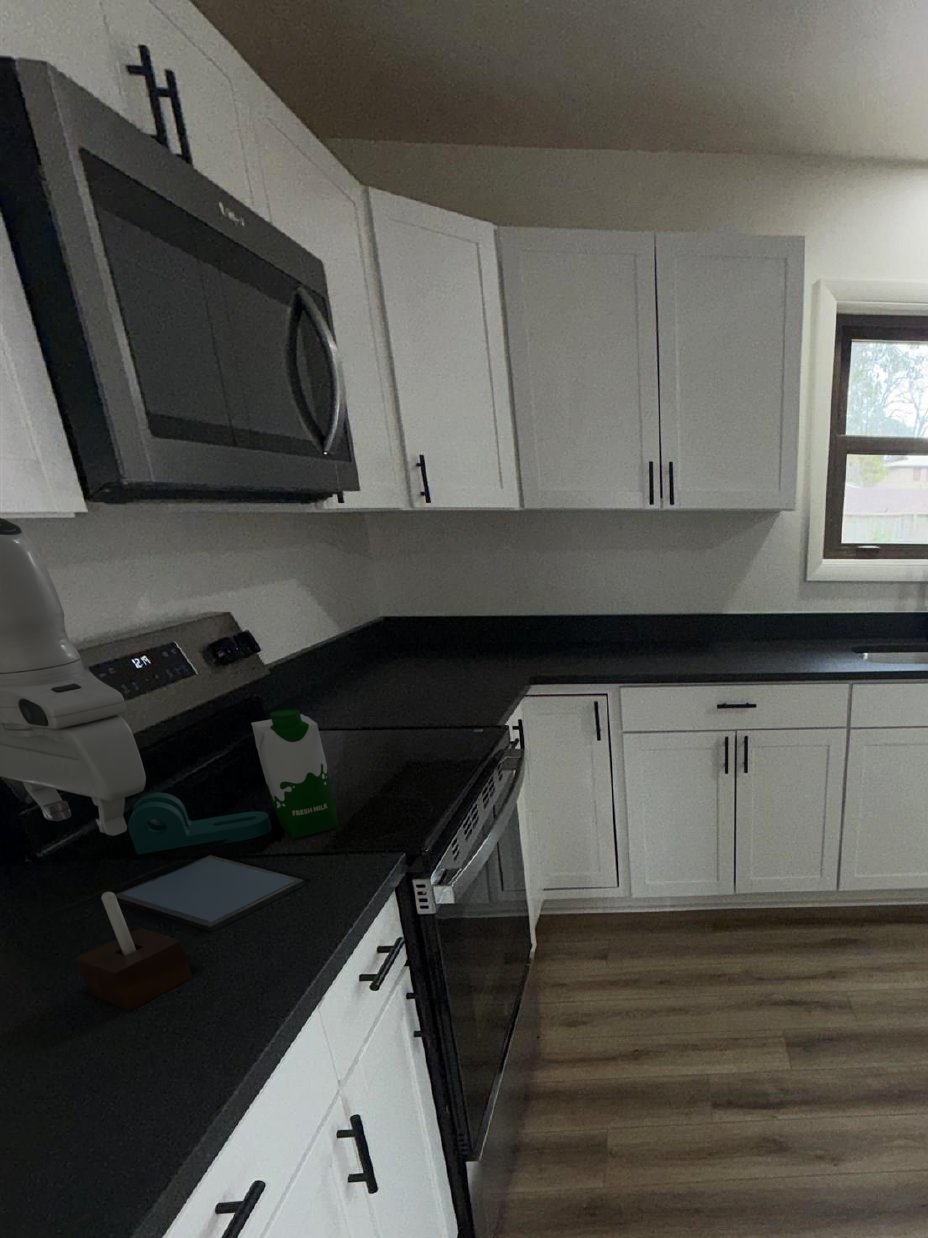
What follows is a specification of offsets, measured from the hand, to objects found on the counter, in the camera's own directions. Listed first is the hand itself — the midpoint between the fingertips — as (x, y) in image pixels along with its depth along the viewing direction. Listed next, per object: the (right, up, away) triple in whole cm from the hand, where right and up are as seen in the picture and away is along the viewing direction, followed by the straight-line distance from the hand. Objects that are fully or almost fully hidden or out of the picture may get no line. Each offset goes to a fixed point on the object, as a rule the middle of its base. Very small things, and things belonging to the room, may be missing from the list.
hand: (86, 825), depth 80 cm
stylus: (0, -18, +8) cm, 20 cm away
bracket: (-17, -1, +44) cm, 47 cm away
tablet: (-5, -9, +28) cm, 29 cm away
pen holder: (0, -18, +8) cm, 20 cm away
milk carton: (-3, +1, +49) cm, 49 cm away
